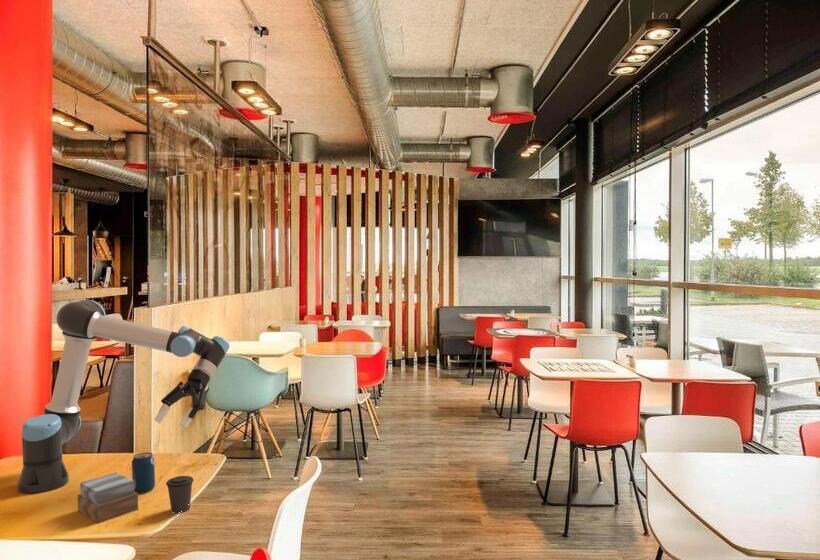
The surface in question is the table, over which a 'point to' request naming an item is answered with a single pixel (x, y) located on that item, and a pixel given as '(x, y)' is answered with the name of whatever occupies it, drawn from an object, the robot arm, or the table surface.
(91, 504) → the two-tone square slab
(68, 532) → the table surface
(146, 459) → the soda can
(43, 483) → the robot arm
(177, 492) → the coffee cup
